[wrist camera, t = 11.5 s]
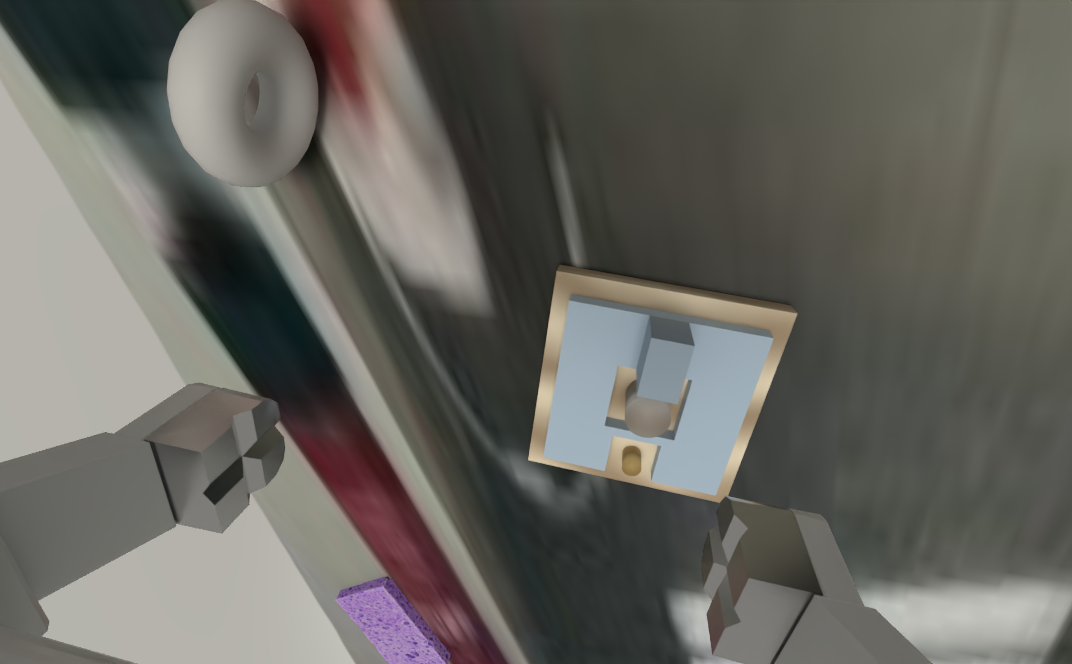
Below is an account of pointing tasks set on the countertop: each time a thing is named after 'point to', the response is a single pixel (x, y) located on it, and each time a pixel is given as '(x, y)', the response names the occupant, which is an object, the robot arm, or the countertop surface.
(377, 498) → the countertop surface
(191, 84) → the donut
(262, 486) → the robot arm
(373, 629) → the sponges
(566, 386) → the flange plate
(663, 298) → the post board
